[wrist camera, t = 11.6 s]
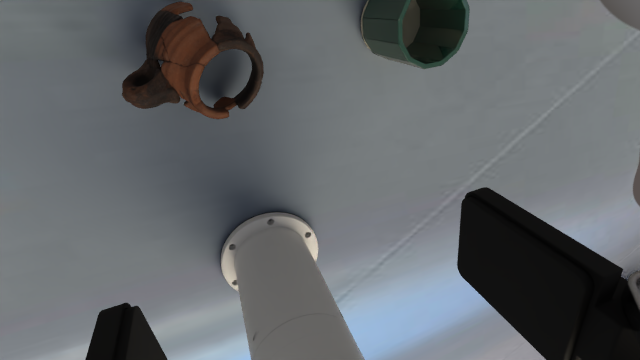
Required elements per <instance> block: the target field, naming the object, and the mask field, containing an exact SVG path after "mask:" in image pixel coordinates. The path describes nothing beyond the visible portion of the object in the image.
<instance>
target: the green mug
mask: <svg viewBox="0 0 640 360" xmlns="http://www.w3.org/2000/svg"><path fill="white" fill-rule="evenodd" d="M468 23H469V5H468V2H467V0H368V1H367V3H366V4H365V7H364V9H363V12H362V16H361V33H362V37H363V39H364V42H365V44H366V45H367V47H368V48H369V49H370V50H371V51H372V52H373V53H374V54H376V55H378V56H381V57H383V58H385V59H388V60H392V61H396V62H399V63H403V64H407V65H411V66H414V67H418V68H422V69H427V68H432V67H437V66H441V65H443V64H444V63H445V62H447V61H448V60H449V59H450V58H451V57H452V56H453V55H455V54H456V53H457V51H458V50H459V48H460V46H461V44H462V42H463V40H464V38H465V36H466V34H467V32H468V31H467V30H468Z"/></svg>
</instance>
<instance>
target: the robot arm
mask: <svg viewBox="0 0 640 360" xmlns="http://www.w3.org/2000/svg"><path fill="white" fill-rule="evenodd" d="M269 219H270V220H269ZM317 256H318V242H317V239H316V236H315V234H314V232H313V230H312V229H311V227H310V226H309V225H308V224H307V223H306V222H305V221H304V220H302V219H301V218H299V217H297V216H295V215H292V214H288V213H280V212H274V213H266V214H262V215H258V216H255V217H253V218H251V219H249V220H247V221H245V222H244V223H242V224H241V225H239V226H238V227H237V228H236V229H235V230H234V231H233V232H232V233H231V234H230V236H229V237H228V238H227V240H226V242H225V244H224V246H223V249H222V253H221V268H222V273H223V275H224V278H225V279H226V281H227V282H228V284H229V285H230V286H232V287H233V288H234V289H235V290H237V291H239V295H240V300H241V306H242V311H243V317H244V322H245V328H246V333H247V339H248V344H249V350H250V355H251V360H365V359H364V357H363V356H362V354H361V352H360V350H359V348H358V346H357V344H356V342H355V340H354V338H353V336H352V334H351V332H350V330H349V328H348V326H347V324H346V322H345V320H344V318H343V316H342V314H341V312H340V310H339V308H338V306H337V304H336V302H335V300H334V298H333V296H332V294H331V292H330V290H329V288H328V286H327V284H326V282H325V280H324V278H323V276H322V274H321V272H320V270H319V268H318V266H317V264H316V259H317ZM457 266H458V270H459V273H460V274H461V276H462V277H463V278H464V279H465V280H466V281H467V282H468V283H469V284H470V285H471V286H472V287H473V288H474V289H475V290H476V291H477V292H478V293H479V294H480V295H481V296H482V297H483V298H484V299H485V300H486V301H487V302H488V303H489V304H490V305H491V306H492V307H493V308H494V309H495V310H496V311H497V312H498V313H499V314H500V315H502V316H503V317H504V318H505V319H506V320H507V321H508V322H509V323H510V324H511V325H512V326H513V327H514V328H515V329H516V330H517V331H518V332H519V333H520V334H521V335H522V336H523V337H524V338H525V339H526V340H527V341H528V342H529V343H530V344H531V345H532V346H533V347H534V348H535V349H536V350H537V351H538V352H539V353H540V354H541V355H542V356H543V357H544V358H545V359H546V360H640V271H637V272H635V273H633V274H631V275H630V277H629V279H628V281H627V280H626V279H624V278H622V277H621V274H622V271H623V269H622V268H620V267H619V266H617V265H615V264H614V263H612V262H610V261H609V260H607V259H605V258H604V257H602V256H600V255H599V254H597V253H595V252H594V251H592V250H590V249H589V248H587V247H586V246H584V245H582V244H581V243H579V242H577V241H576V240H574V239H572V238H571V237H569V236H567V235H566V234H564V233H562V232H561V231H559V230H557V229H556V228H554V227H552V226H551V225H549V224H547V223H546V222H544V221H542V220H541V219H539V218H537V217H536V216H534V215H533V214H531V213H529V212H528V211H526V210H524V209H523V208H521V207H519V206H518V205H516V204H514V203H513V202H511V201H509V200H508V199H506V198H504V197H503V196H501V195H499V194H498V193H496V192H494V191H493V190H491V189H489V188H481V189H478V190H475V191H471V192H469V193H467V194H466V196H465V199H463V201H462V206H461V221H460V235H459V249H458V264H457ZM86 360H167V358H166V356H165V354H164V352H163V350H162V348H161V347H160V345H159V343H158V341H157V339H156V337H155V335H154V334H153V332H152V330H151V328H150V326H149V324H148V322H147V321H146V319H145V317H144V315H143V313H142V311H141V309H140V308H139V307H138V306H134V307H131V306H130V304H128V303H124V304H121V305H118V306H114V307H111V308H108V309H105V310H102V311H101V312H100V313H99V315H98V318H97V322H96V325H95V329H94V332H93V336H92V339H91V343H90V346H89V350H88V353H87V356H86Z"/></svg>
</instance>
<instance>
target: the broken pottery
mask: <svg viewBox="0 0 640 360" xmlns="http://www.w3.org/2000/svg"><path fill="white" fill-rule="evenodd" d="M191 10H193V6H192V5H191V4H190V3H184V2H176V3H173V4H170V5H168V6H166V7H164V8H163V9H162V10H160V11H159V12H158V13H157V14H156V15H155V16H154V17H153V19H152V20H151V22H150V24H149V26H148V29H147V32H146V49H147V54H146V55H147V60H146V61H145V62H144V64H143V65H142V66H141V67H140V68H139V69H138V70H137V71H135V72H133V73H132V74H130V75H129V76H128V77H127V78H126V79H125V80H124V81H123V84H122V88H123V93H122V96H123V97H124V99H125V100H126V101H128V102H130V103H131V104H132V105H134V106H136V107H138V108H143V109H148V108H153V107H157V106H159V105H161V104H163V103H167V102H170V103H178V102H180V97H181V98H183V99H185V100H186V102H185V103H184V105H185V106H186V107H188V108H190V109H192V110H194V111H196V112H199V113H201V114H203V115H205V116H207V117H209V118H213V119H222V118H227V117H229V112H228V110H230V109H232V108H233V107H235V106H236V105H238V107H239V108H240V109H245V108H246V107H247V106H248V105H249V104H250V103H251V102H252V101H253V99H254V98H255V97H256V95H257V93H258V91H259V89H260V86H261V83H262V78H263V73H264V72H263V62H262V59H261V56H260V54H259V53H258V51H257V50H256V48H255V44H254V41H253V39H252V37H251V35H250V33H246V38H245V39H244V37H243V35H242V33H241V31H240V30H239V28H238V27H237V26H235V25H234V24H233V23H232V22H231V20H230V19H229V18H227V17H223V16H216V21H217V23H218V25H217V28H216V31H215V34H214V35H213V37H212V39H211V38H210V37H209V34H208V32H207V31H206V29H205V27H204V25H203V24H202V21H201V20H200V19H198V18H196V17H192V16H190V17H187V18H185V19H183V18H182V16H179V15H178V14H181V13H184V12H187V11H191ZM229 49H239V50H243V51H244V52H246V53H247V54H248V55H249V57H250V59H251V62H252V71H251V75H250V78H249V81H248V83H247V85H246V86H245V88H244V89H243V90H242V91H241V92H240V93H239V94H238V95H237V96H235V97H234V98H229V97H222V98H221V99H219V100H218V101H217V102H216V103H215V104H214V108H211V107H208V106H206V105H205V104H204V103H203V102H202V100H201V99H200V96H199V80H200V77H201V74H202V72H203V70H204V68H205V66H206V65H207V64H208V62H209V61H210V60H211V59H212V58H214V57H215V56H216V55H218V54H219V53H220V52H221V51H225V50H229ZM158 60H161V61H163V64H162V65H161V67H160V64H159V62H158Z"/></svg>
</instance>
